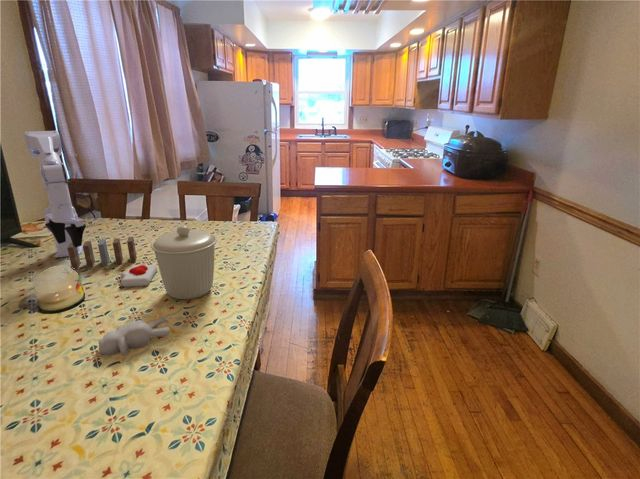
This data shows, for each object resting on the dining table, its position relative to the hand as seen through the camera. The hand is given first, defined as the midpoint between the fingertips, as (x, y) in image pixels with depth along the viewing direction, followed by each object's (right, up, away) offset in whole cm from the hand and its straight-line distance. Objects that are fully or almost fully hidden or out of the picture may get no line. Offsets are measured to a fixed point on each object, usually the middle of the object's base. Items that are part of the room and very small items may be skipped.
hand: (69, 244), depth 123 cm
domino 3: (+9, -6, +13) cm, 17 cm away
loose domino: (+5, -7, +12) cm, 14 cm away
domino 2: (+1, -7, +10) cm, 13 cm away
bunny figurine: (+37, -24, -31) cm, 54 cm away
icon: (+21, -12, +1) cm, 24 cm away
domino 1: (-4, -8, +9) cm, 12 cm away
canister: (+41, -15, -7) cm, 44 cm away
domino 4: (+13, -6, +15) cm, 21 cm away
